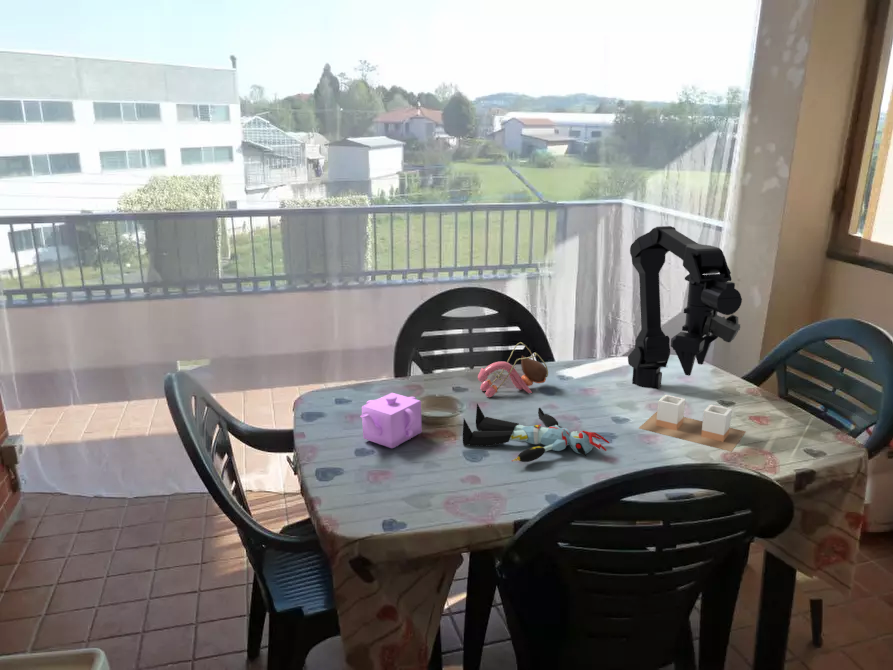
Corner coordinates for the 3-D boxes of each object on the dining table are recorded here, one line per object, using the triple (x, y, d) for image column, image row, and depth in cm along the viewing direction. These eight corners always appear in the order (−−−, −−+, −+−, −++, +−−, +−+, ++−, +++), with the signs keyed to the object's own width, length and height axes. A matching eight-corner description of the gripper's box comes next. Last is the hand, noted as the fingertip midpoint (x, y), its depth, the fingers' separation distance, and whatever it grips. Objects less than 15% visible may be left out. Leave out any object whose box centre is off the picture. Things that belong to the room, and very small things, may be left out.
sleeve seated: (656, 425, 151) (658, 400, 149) (663, 418, 155) (665, 394, 153) (676, 430, 148) (678, 405, 147) (683, 423, 152) (685, 398, 150)
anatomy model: (463, 375, 177) (504, 327, 176) (503, 406, 183) (542, 359, 182) (477, 390, 166) (519, 339, 166) (518, 422, 172) (560, 373, 172)
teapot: (384, 463, 138) (382, 418, 135) (337, 445, 146) (334, 403, 143) (437, 433, 152) (437, 391, 149) (392, 418, 160) (390, 379, 157)
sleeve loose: (723, 441, 143) (726, 415, 141) (701, 436, 145) (703, 410, 144) (729, 434, 146) (731, 408, 144) (707, 429, 149) (710, 404, 147)
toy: (488, 389, 160) (616, 399, 149) (490, 419, 162) (616, 431, 151) (450, 432, 137) (598, 447, 126) (452, 466, 140) (598, 484, 128)
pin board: (638, 433, 150) (639, 413, 149) (657, 415, 159) (658, 397, 158) (730, 456, 139) (733, 436, 137) (745, 436, 148) (747, 416, 146)
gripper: (726, 318, 137) (718, 389, 141) (749, 300, 151) (741, 365, 156) (672, 310, 143) (666, 378, 148) (699, 294, 158) (693, 356, 162)
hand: (694, 369), depth 153 cm, fingers open, 9 cm apart
